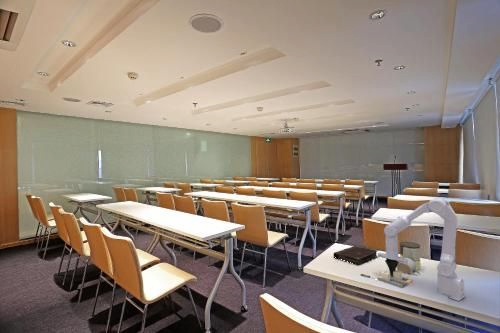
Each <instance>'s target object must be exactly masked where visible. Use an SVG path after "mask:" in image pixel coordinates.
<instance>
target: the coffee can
mask: <svg viewBox="0 0 500 333" xmlns="http://www.w3.org/2000/svg"><path fill="white" fill-rule="evenodd" d="M399 246H400V247H399V252H400V253H399V254H400V256H399V257H401V258H409V259H411V260H413V261H414V263H415V265H416V269H417V270H418V271H419V272H420V271H421V270H422V269H421V245H420V244H419V243H417V242H412V241H401V242H399Z"/></svg>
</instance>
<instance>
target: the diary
mask: <svg viewBox="0 0 500 333" xmlns="http://www.w3.org/2000/svg"><path fill="white" fill-rule="evenodd" d="M377 252H379V250H378V249H377V250H376V249H373V248H368V247H364V246H359V245H358V246H357V245H353V246H350V247H348V248H344V249H342V250H337V251H335V252H333V259H334V258H335V257H337V258H339V259H342V260H341V261H343V260H345V261H344V262H346V261H348V262H351V263H353V264H352V265H354V266H362V265H364V264H367V263H369V262H372V261H373V260H376V259H378V258H379V257H378V253H377ZM337 258H335V259H337ZM339 259H338V260H339ZM372 259H373V260H372ZM351 263H350V264H351Z"/></svg>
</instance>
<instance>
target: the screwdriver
mask: <svg viewBox="0 0 500 333" xmlns="http://www.w3.org/2000/svg"><path fill="white" fill-rule="evenodd" d="M360 276H361V277H365V278H367V279H374V280H377V281H379V280H378V278H373V277H371V276H370V275H367V274H364V273H360Z"/></svg>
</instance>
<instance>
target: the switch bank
mask: <svg viewBox="0 0 500 333" xmlns="http://www.w3.org/2000/svg"><path fill="white" fill-rule="evenodd" d="M377 279H378V280H377V281H380V282H383V283H386V284H388V285H391V286H393V287H397V288H400V289H403V288H405V287H407V286H409V285H411V284H413V279H409V278H406V277H403V276H402V280H400V279H397V278H393V275H392V274H390V281H388V280H385V279H382V278H381V275H380V276H378V277H377Z"/></svg>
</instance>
